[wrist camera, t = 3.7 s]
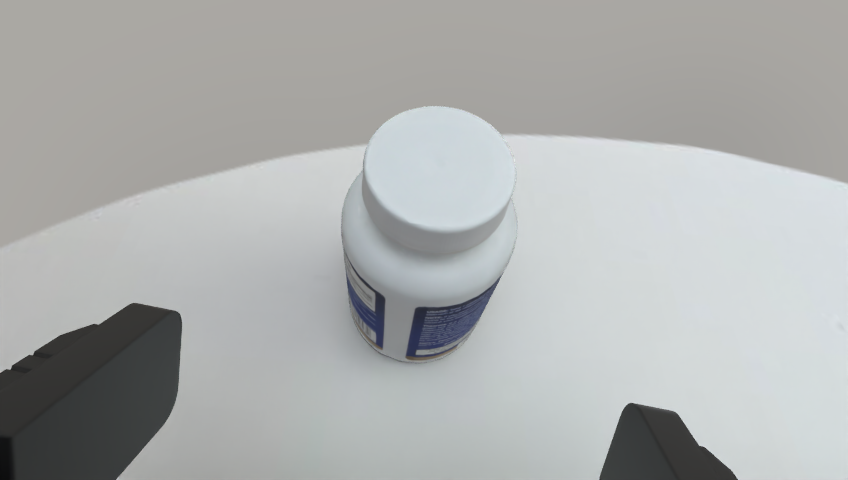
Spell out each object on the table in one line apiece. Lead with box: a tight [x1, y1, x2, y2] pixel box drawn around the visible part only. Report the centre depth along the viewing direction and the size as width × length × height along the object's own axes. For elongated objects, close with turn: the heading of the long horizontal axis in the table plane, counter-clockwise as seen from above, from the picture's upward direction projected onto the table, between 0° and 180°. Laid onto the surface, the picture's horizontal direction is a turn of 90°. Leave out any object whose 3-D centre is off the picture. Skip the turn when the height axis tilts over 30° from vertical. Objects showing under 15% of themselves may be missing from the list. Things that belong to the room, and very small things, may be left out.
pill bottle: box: [341, 106, 517, 363], centre depth 18 cm, size 5×5×10 cm
